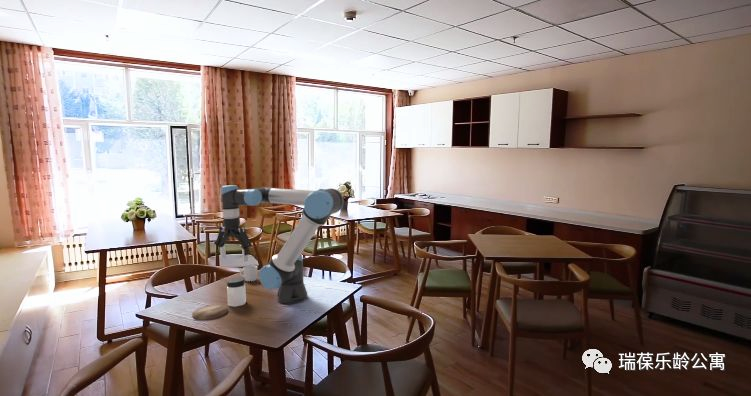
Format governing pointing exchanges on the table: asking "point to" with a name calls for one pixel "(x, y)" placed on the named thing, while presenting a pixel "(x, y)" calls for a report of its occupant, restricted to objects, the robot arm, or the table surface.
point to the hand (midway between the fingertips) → (234, 260)
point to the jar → (236, 292)
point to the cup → (249, 273)
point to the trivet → (210, 312)
